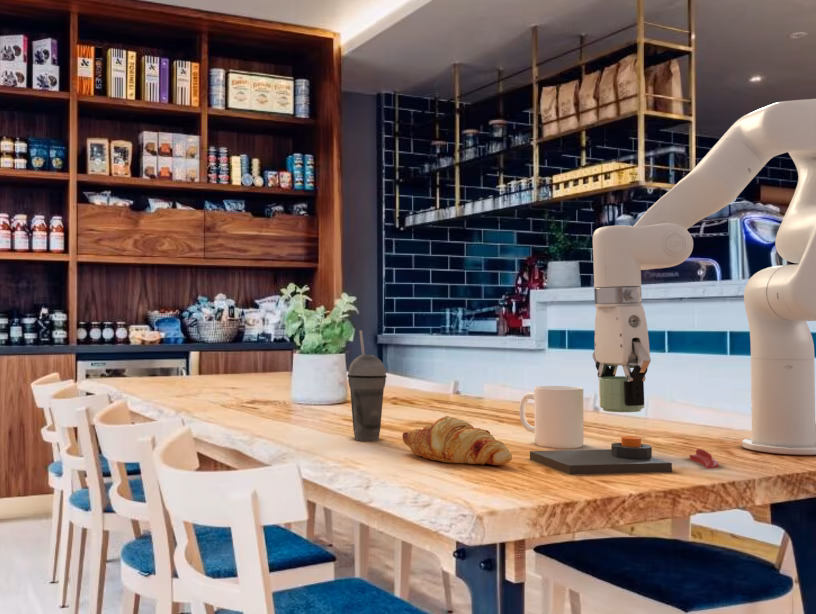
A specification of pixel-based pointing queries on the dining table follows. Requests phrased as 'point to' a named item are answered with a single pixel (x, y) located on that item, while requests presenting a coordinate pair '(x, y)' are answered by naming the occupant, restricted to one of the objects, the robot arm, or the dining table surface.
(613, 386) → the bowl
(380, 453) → the dining table surface
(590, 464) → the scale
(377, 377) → the beverage cup
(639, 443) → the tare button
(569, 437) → the cup
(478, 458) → the croissant
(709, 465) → the cayenne pepper
